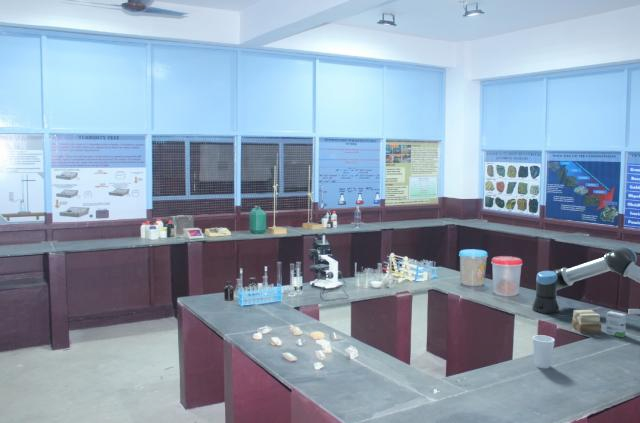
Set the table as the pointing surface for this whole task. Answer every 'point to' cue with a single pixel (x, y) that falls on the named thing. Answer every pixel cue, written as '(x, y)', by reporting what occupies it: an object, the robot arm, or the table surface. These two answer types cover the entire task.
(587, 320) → the top block
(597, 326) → the bottom block
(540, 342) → the foam cup
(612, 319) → the ink box
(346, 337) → the table surface
